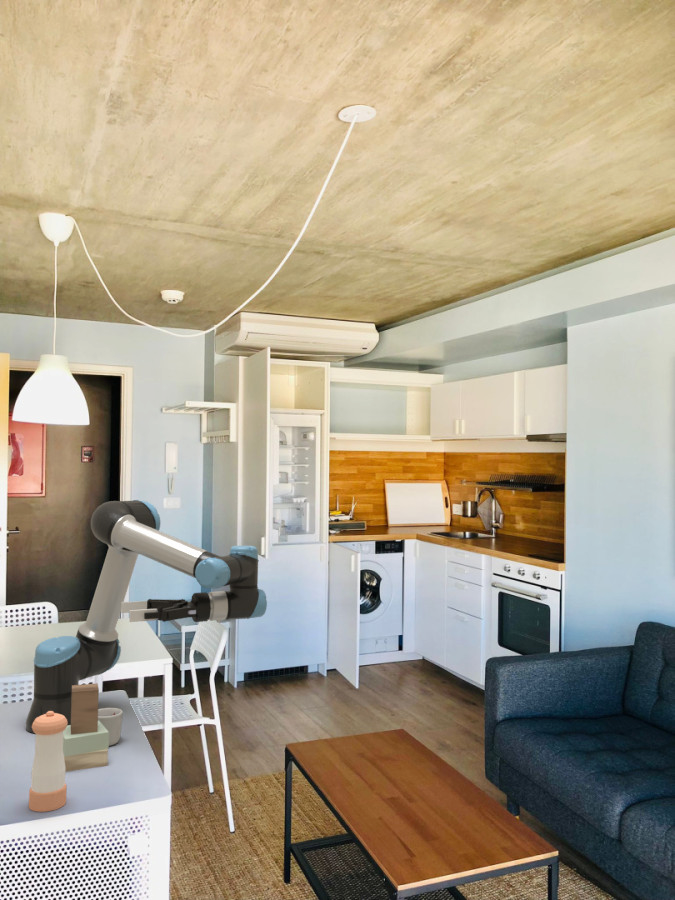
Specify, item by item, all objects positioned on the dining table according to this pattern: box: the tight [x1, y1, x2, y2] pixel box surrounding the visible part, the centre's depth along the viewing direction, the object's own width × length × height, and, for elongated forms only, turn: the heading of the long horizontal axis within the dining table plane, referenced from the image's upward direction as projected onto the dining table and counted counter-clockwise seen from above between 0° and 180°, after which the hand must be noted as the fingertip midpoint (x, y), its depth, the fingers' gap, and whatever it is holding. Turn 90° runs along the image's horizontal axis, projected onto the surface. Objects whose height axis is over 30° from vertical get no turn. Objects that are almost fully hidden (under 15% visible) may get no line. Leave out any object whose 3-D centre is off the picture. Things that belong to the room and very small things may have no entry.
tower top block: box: [63, 721, 110, 757], centre depth 179 cm, size 10×10×4 cm
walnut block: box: [71, 682, 100, 735], centre depth 179 cm, size 6×6×10 cm
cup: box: [98, 707, 124, 747], centre depth 192 cm, size 11×8×8 cm
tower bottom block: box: [64, 749, 109, 773], centre depth 178 cm, size 10×10×4 cm
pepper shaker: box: [28, 711, 68, 813], centre depth 155 cm, size 7×7×19 cm
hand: (125, 611), depth 186 cm, fingers open, 13 cm apart
